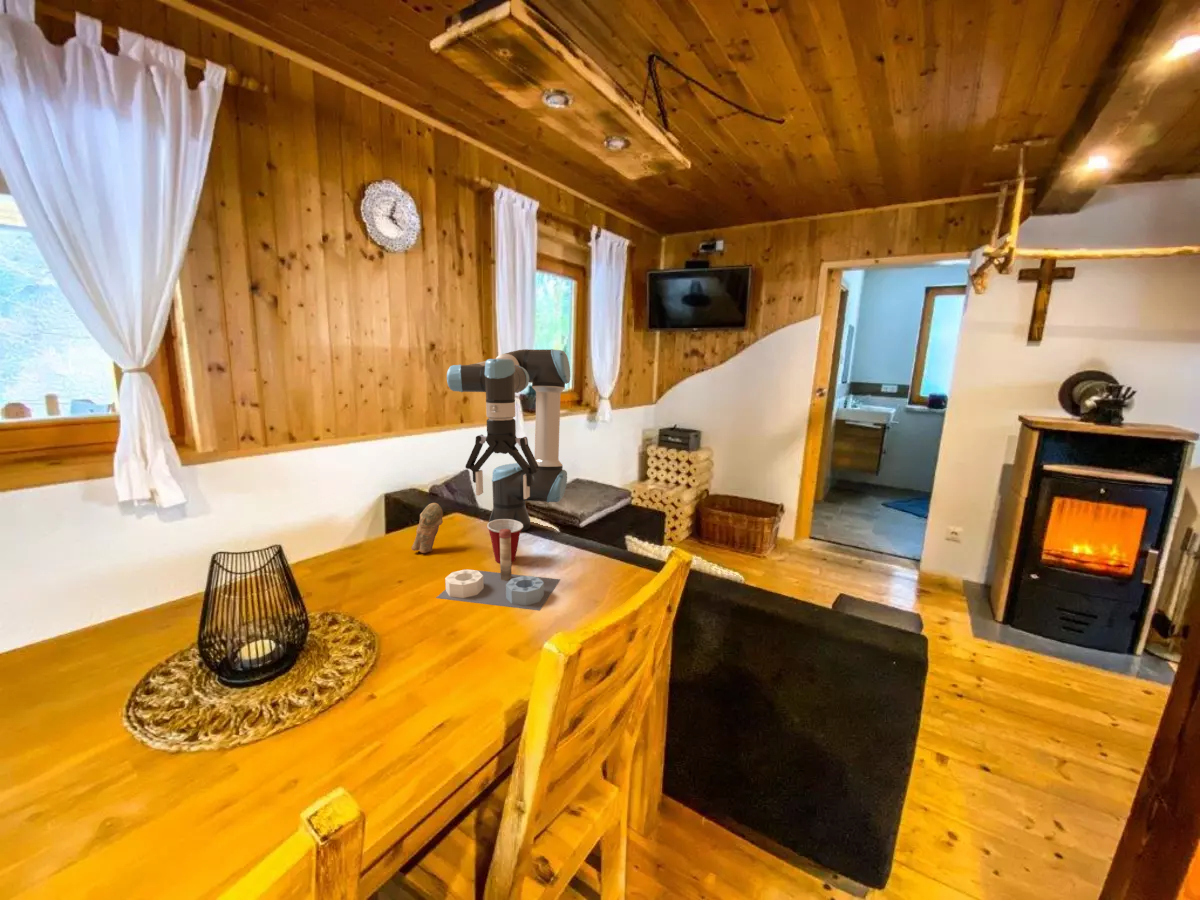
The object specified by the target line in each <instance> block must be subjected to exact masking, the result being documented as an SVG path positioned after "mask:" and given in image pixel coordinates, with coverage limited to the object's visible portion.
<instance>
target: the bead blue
mask: <svg viewBox="0 0 1200 900" xmlns="http://www.w3.org/2000/svg"><path fill="white" fill-rule="evenodd" d="M538 577H539V576H534V577H532V575H525V576H521V577H517V578H513V579H511V580H510V581H509V582H508V583H507V584H506V598H507V599H508V600H509V601H510V602H511V604H516V605H525V606H526V605H530V604H534V603H537V602H540V600H541V599H542V597H543V596H544V582H543V581H542V580H541V579H539V578H538Z"/></svg>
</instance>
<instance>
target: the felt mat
mask: <svg viewBox="0 0 1200 900" xmlns="http://www.w3.org/2000/svg"><path fill="white" fill-rule="evenodd" d="M467 570H470V569H467ZM475 570H476V569H475ZM476 571H479V572H480V573H481V574H482V575H483V585H484V588H483V589H482V590H481V591H480V592H479V593H478V594H477V595H474V596H470V597H466V598H458V597H450V596H449V595H448V593H447V592H446V588H445V590H443V591H442V592H440V594H439V595H437V596H436V597H435V599H439V600H449V601H457V602H458V601H459V602H466V603H473V604H483V605H491V606H498V607H499V606H500V607H506V608H514V609H516V608H517V609H521V610H522V609H523V610H532V611H541V610H542V608H543V606H544V605H545V604H546V602H547V601H548V599H549V597H550V596H552V595H551V594H553V592H554V590H555V588H556V587H557V585H559V583H560V581H561V578H550V577H542V576H537V577H538V578H539V579H541V580H542V581H543V582H544V596H543V597H542V599H541V600H540V602H537V603H534V604H530V605H526V606H525V605H516V604H511V602H510V601H509V600H508V599H507V598H506V584H507V583H508V582H509V581H510V580H508V581H503V580H501V572H495V571H486V570H485V571H484V570H476ZM511 574H512V573H511ZM521 576H526V575H523V574H514V573H513V574H512V578H511V579H513V578H517V577H521ZM531 576H532V575H531ZM532 577H535V576H534V575H533V576H532Z"/></svg>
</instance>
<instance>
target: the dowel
mask: <svg viewBox="0 0 1200 900" xmlns="http://www.w3.org/2000/svg"><path fill="white" fill-rule="evenodd" d="M499 535H500V563H499V565H500V566H499V567H500V573H501V580H503V581H508V580H511V578H512V563H511V530H510V529H502V530H500V531H499Z"/></svg>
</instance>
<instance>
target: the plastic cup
mask: <svg viewBox="0 0 1200 900" xmlns="http://www.w3.org/2000/svg"><path fill="white" fill-rule="evenodd" d="M486 527H487V529H488V532H489V536H490V541H491V544H492V545H491V547H492V551H493V555H494V560H495V562H496V563H497V564H500V535H499V531H500V530H502V529H510V530H511V564H512V563H514V562H515V560H516V558H517V557H516V556H517V551H518V548H519V547H518V546H519V540H520V535H521V533H522V532H521V530H522V528H523V524H522V523H521V522H519V521H516V520H511V519H498V520H493V521H490V522H489V521H488V523H487V524H486Z"/></svg>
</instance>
